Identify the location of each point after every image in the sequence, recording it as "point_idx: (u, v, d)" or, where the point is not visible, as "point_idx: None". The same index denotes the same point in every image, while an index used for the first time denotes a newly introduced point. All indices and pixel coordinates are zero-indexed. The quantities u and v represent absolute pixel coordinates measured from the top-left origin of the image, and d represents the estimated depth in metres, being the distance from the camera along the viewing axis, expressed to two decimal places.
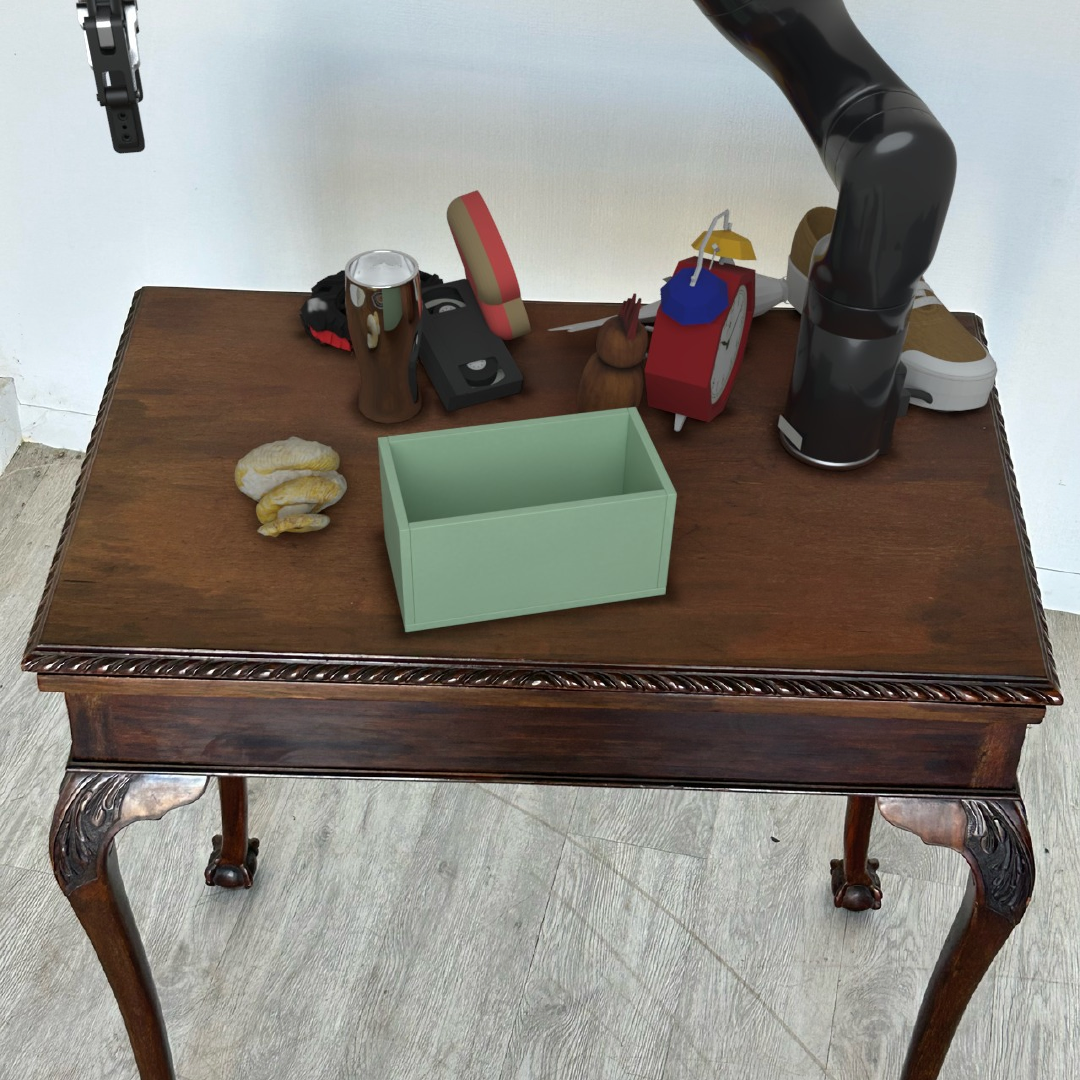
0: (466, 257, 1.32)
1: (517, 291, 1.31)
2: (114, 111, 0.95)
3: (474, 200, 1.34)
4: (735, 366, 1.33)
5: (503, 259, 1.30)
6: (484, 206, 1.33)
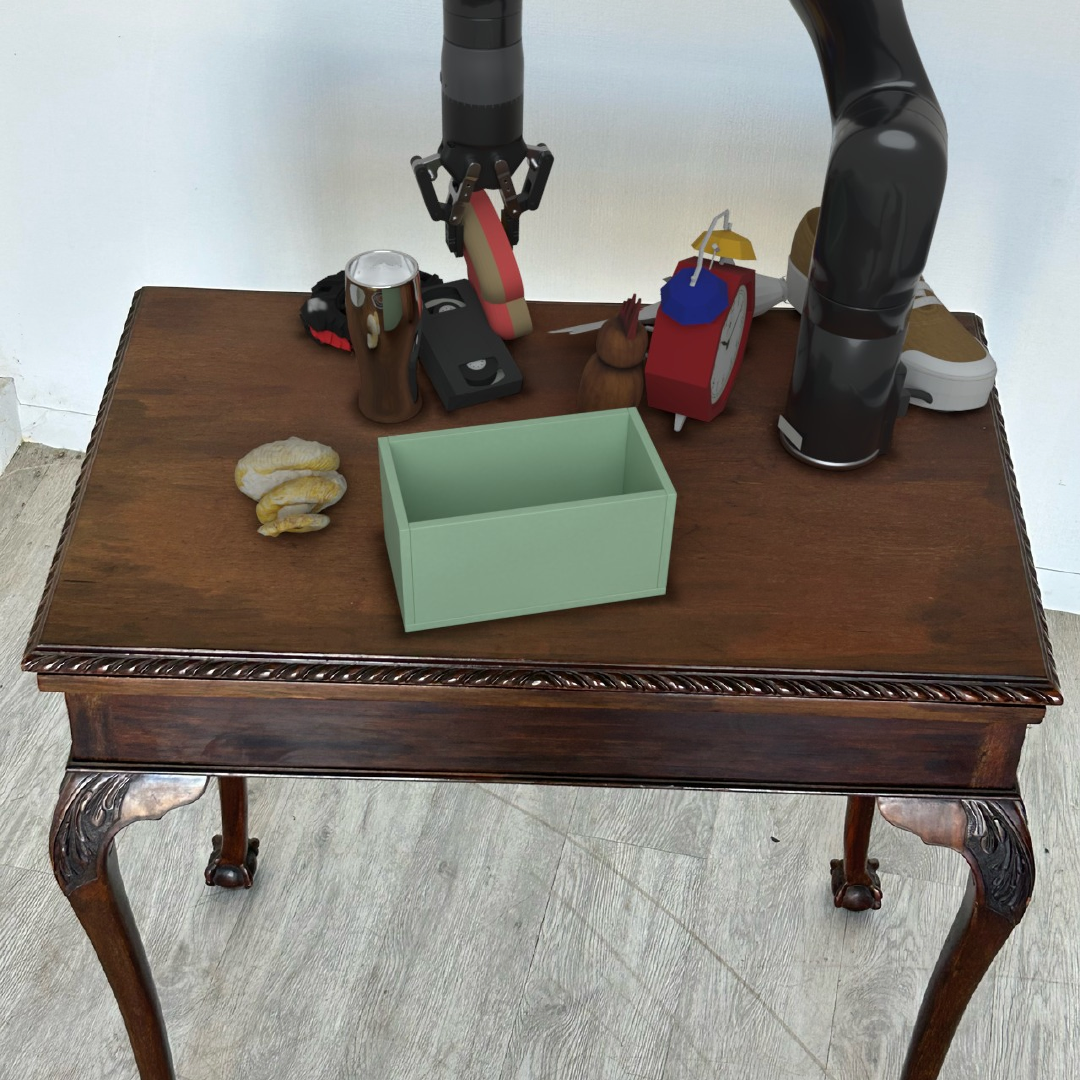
0: (471, 255, 1.32)
1: (521, 291, 1.31)
2: None
3: (480, 199, 1.34)
4: (735, 366, 1.33)
5: (509, 258, 1.30)
6: (490, 205, 1.33)
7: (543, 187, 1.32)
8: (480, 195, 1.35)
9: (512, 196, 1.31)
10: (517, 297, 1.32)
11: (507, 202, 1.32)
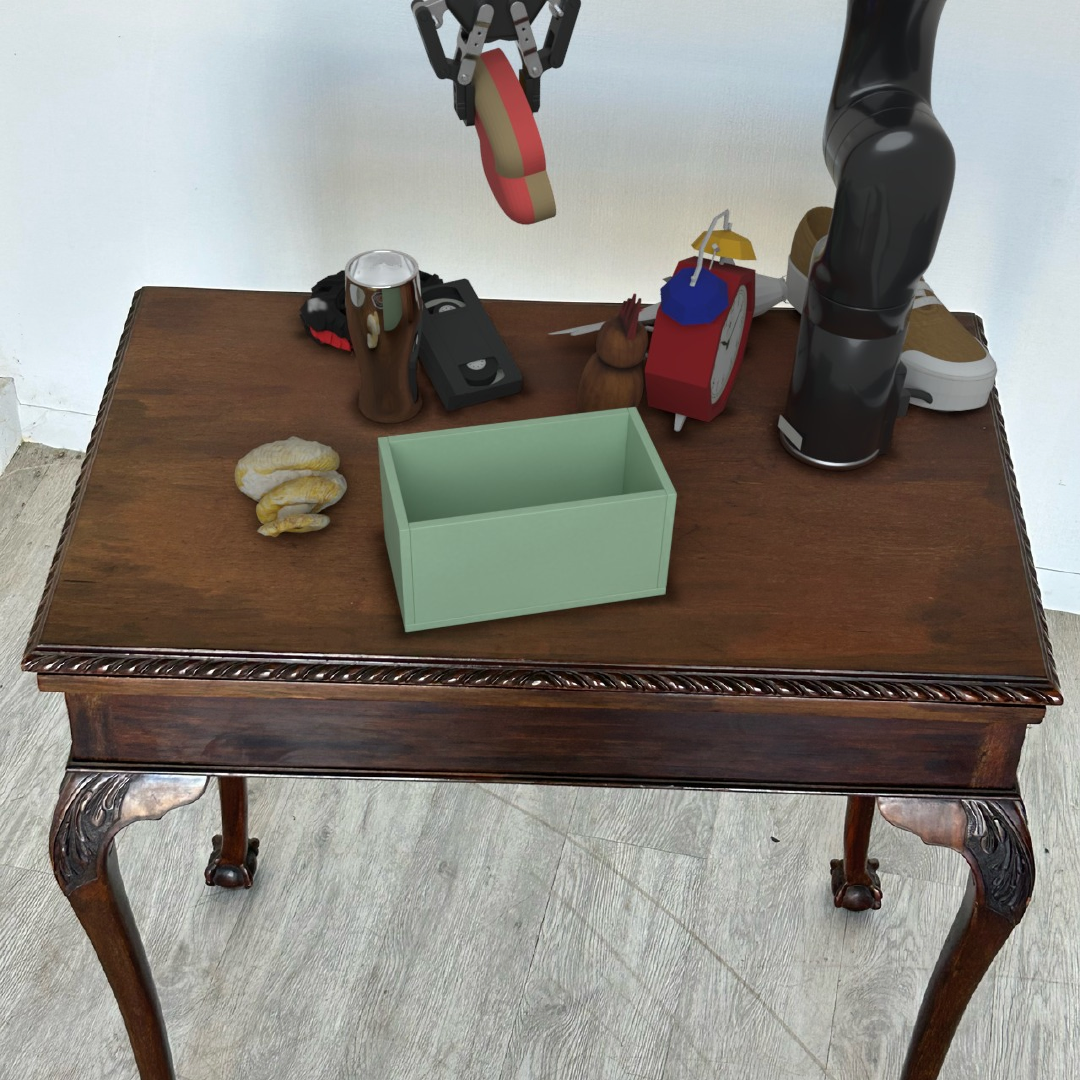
0: (483, 119, 1.12)
1: (542, 161, 1.11)
2: (453, 81, 1.13)
3: (495, 57, 1.14)
4: (735, 366, 1.33)
5: (527, 121, 1.10)
6: (506, 62, 1.13)
7: (568, 39, 1.11)
8: (494, 53, 1.15)
9: (531, 49, 1.11)
10: (537, 170, 1.12)
11: (526, 57, 1.11)
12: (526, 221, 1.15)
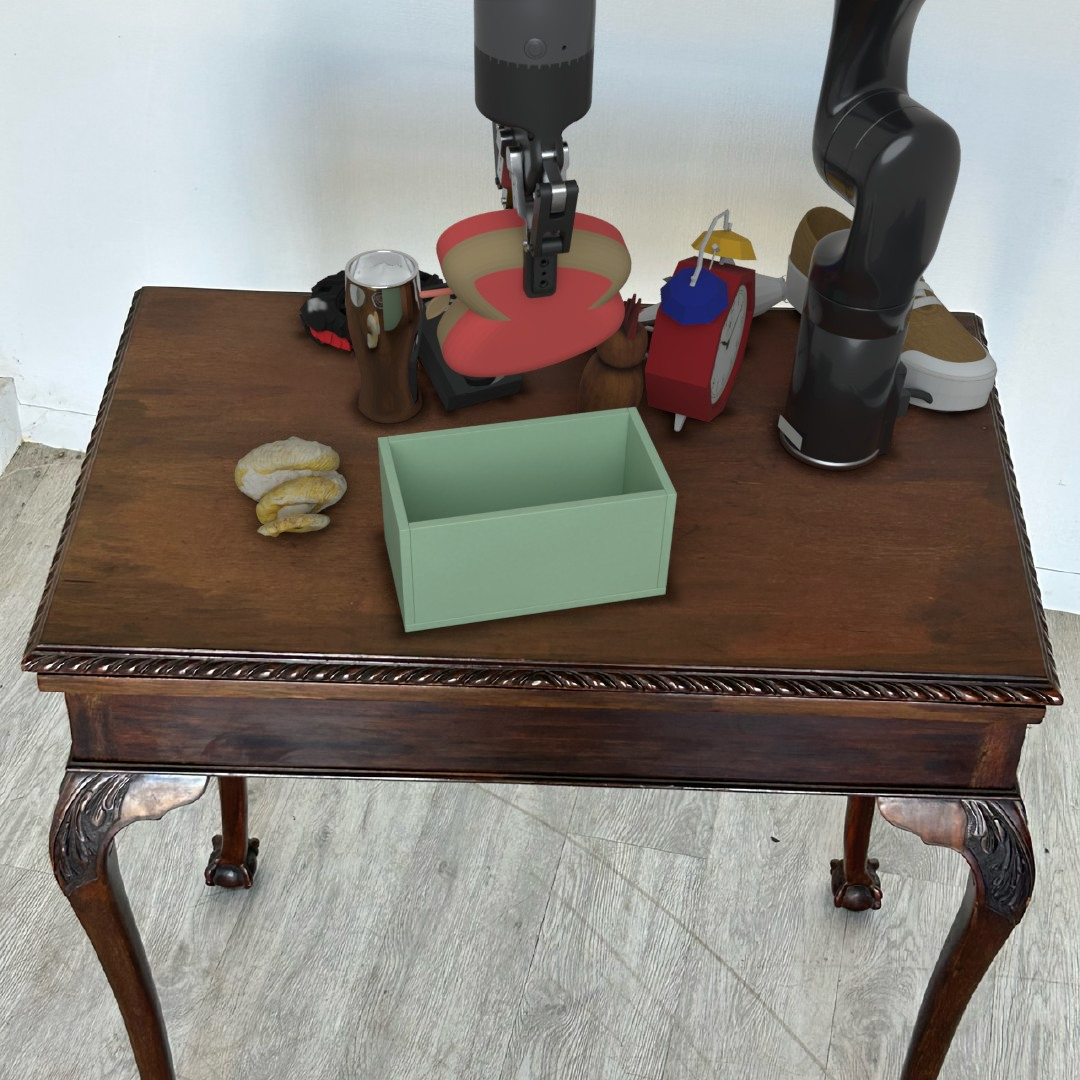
0: (586, 262, 0.94)
1: None
2: (537, 258, 0.91)
3: (502, 218, 0.93)
4: (735, 366, 1.33)
5: (610, 227, 0.97)
6: None
7: None
8: (489, 218, 0.93)
9: None
10: None
11: None
12: None
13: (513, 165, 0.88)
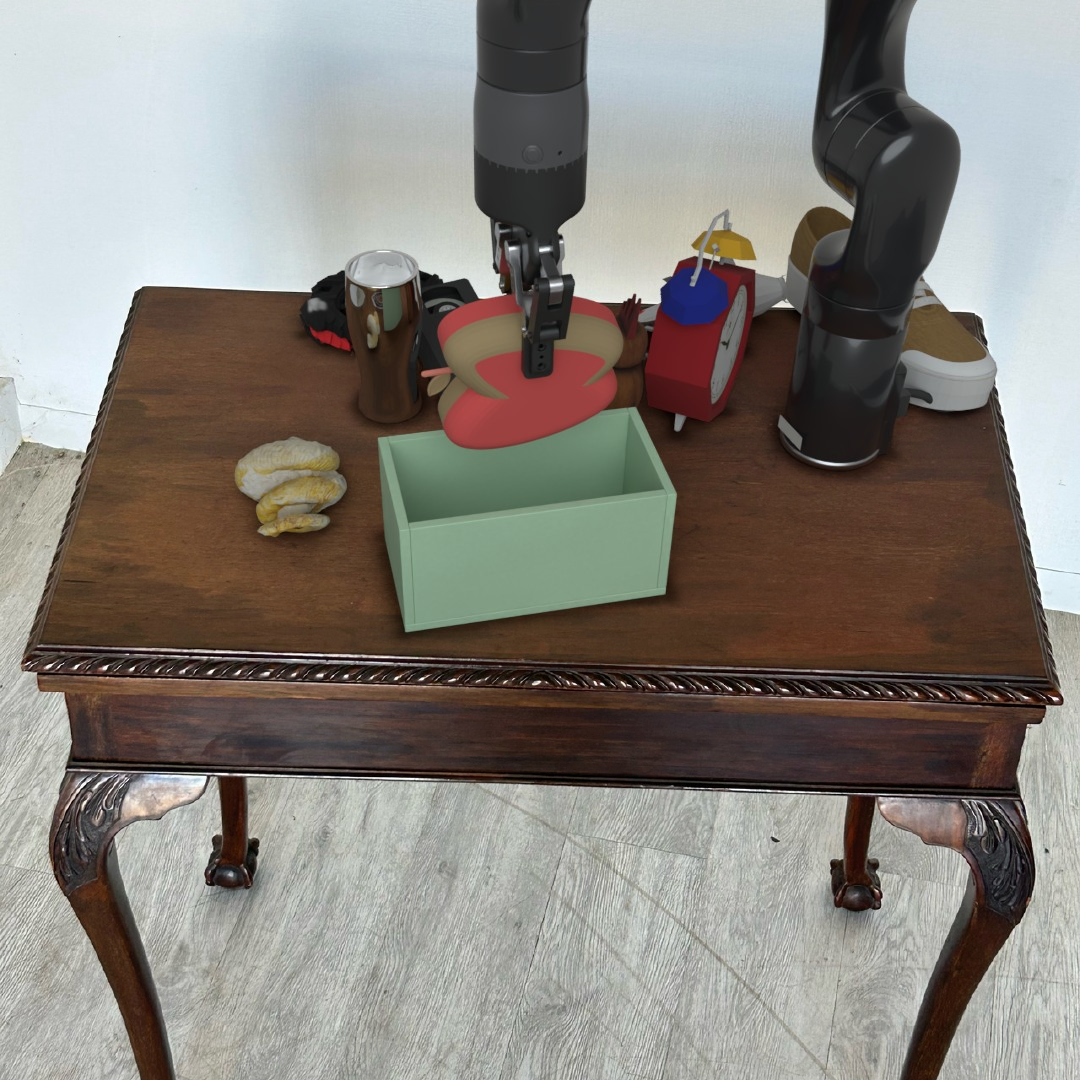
0: (581, 344, 0.99)
1: None
2: (535, 343, 0.96)
3: (500, 304, 0.98)
4: (735, 366, 1.33)
5: (603, 309, 1.01)
6: None
7: None
8: (488, 305, 0.98)
9: None
10: None
11: None
12: None
13: (512, 258, 0.93)
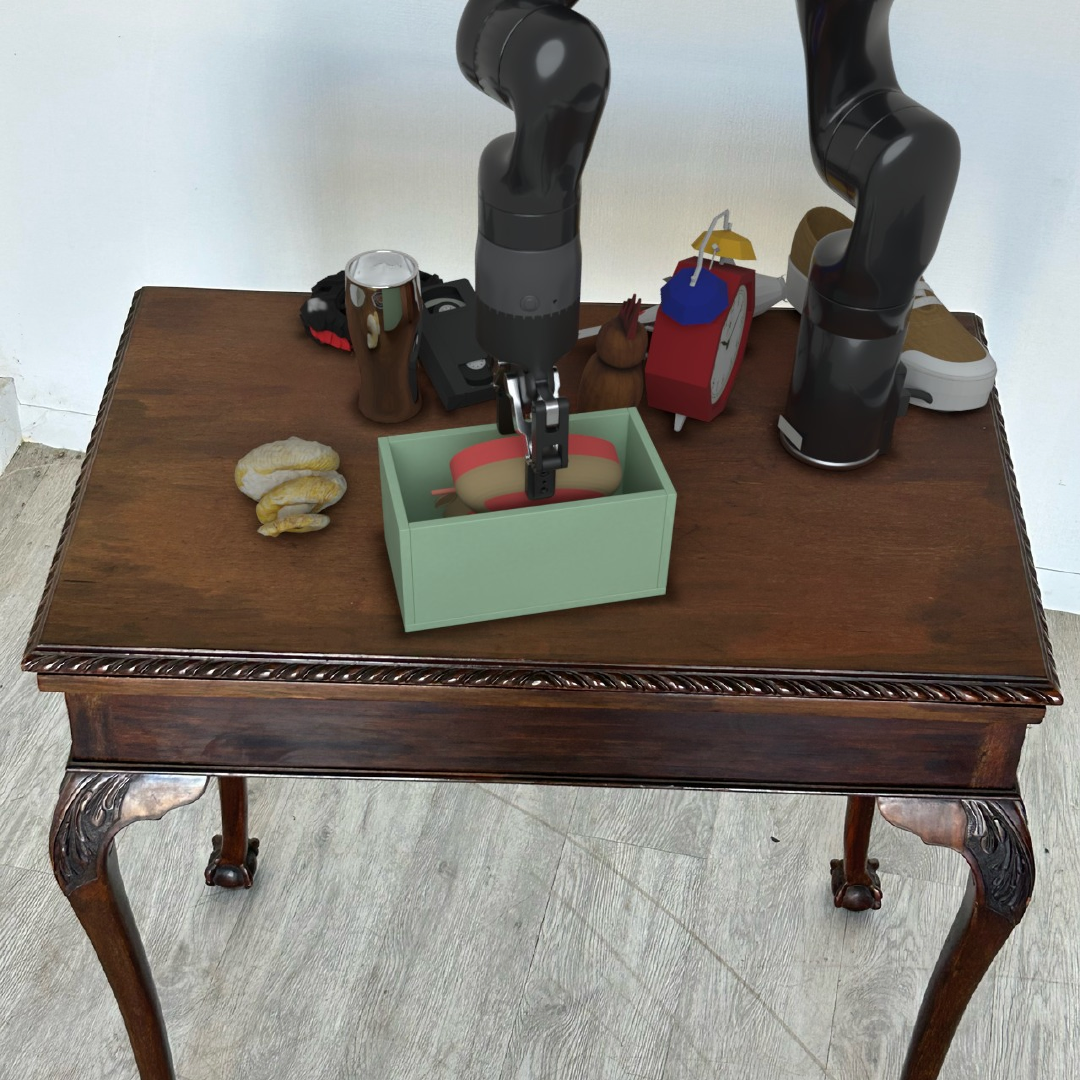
0: (583, 484, 1.06)
1: None
2: None
3: (511, 446, 1.04)
4: (735, 366, 1.33)
5: (605, 445, 1.08)
6: None
7: None
8: (500, 446, 1.04)
9: None
10: None
11: None
12: None
13: (510, 387, 1.00)
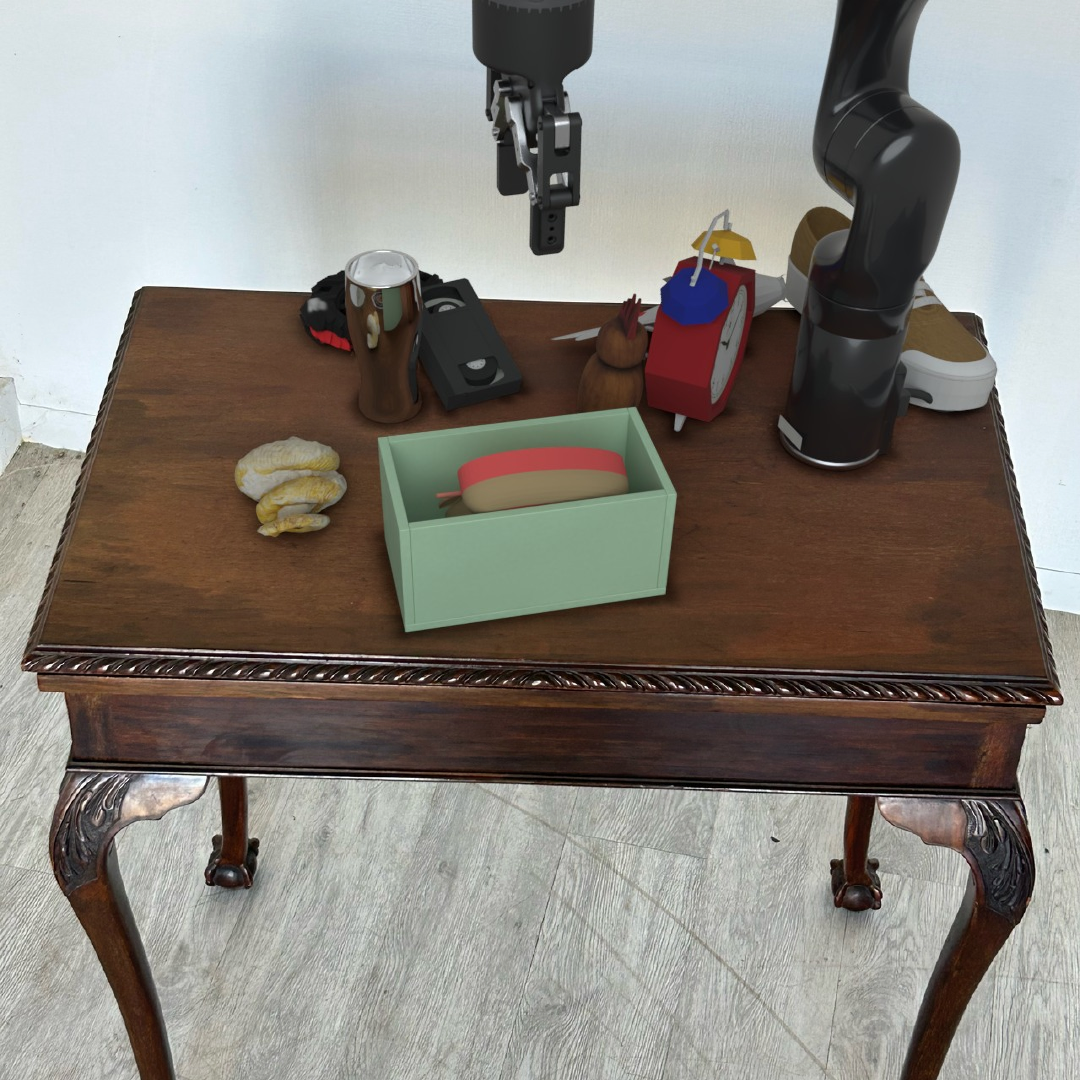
0: (591, 498, 1.06)
1: None
2: (545, 213, 0.87)
3: (521, 459, 1.03)
4: (735, 366, 1.33)
5: (614, 458, 1.07)
6: (539, 450, 1.04)
7: None
8: (510, 459, 1.03)
9: None
10: None
11: None
12: None
13: (513, 112, 0.86)
